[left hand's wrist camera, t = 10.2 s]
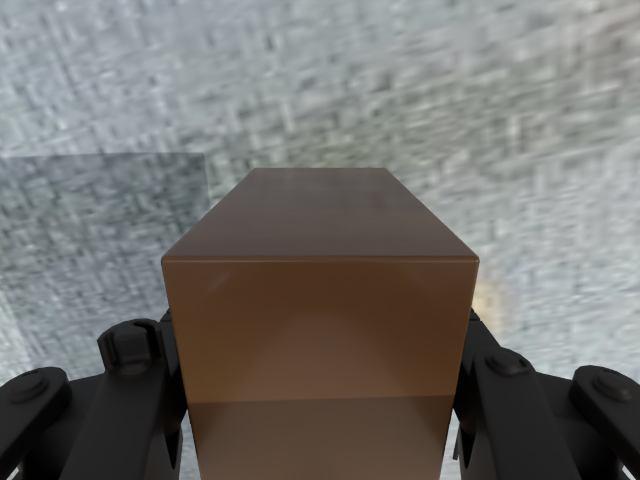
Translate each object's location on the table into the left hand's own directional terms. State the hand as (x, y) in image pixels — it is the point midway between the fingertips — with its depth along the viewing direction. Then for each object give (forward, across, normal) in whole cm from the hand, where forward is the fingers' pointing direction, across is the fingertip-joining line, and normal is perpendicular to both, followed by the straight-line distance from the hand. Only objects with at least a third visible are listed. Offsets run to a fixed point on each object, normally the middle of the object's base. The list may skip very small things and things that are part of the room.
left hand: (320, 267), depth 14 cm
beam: (+1, 0, -23) cm, 23 cm away
